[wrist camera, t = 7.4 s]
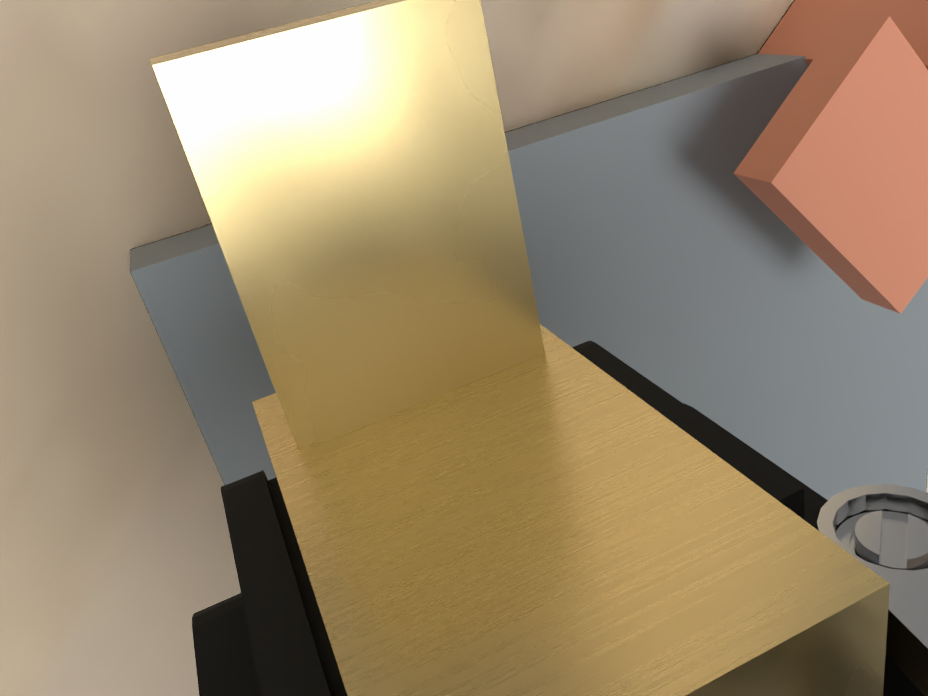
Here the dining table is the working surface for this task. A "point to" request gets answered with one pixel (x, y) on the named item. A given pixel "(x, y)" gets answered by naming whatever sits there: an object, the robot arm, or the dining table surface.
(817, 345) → the base plate
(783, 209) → the pink t-shaped block
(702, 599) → the link
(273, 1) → the dining table surface
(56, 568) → the dining table surface
